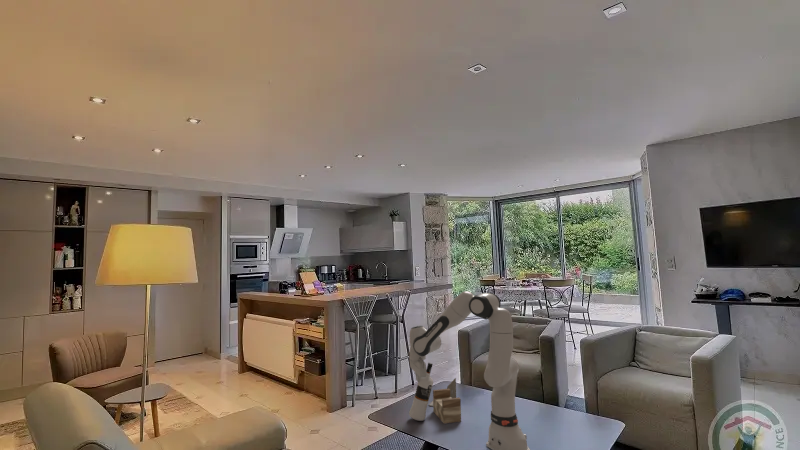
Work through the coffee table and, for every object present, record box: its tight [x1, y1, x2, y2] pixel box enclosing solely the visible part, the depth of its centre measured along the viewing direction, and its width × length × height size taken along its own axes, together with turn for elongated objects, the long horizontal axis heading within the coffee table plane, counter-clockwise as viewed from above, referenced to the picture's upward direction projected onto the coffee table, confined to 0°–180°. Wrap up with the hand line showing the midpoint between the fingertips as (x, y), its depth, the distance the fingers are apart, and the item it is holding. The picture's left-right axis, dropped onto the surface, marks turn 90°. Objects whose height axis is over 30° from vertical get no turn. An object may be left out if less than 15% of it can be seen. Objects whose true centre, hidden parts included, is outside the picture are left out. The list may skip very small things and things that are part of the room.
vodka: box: [408, 362, 434, 422], centre depth 212 cm, size 9×9×30 cm
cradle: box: [432, 388, 462, 424], centre depth 215 cm, size 17×10×12 cm, turn 14°
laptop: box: [428, 377, 457, 407], centre depth 236 cm, size 18×12×13 cm
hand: (418, 380), depth 212 cm, fingers closed
